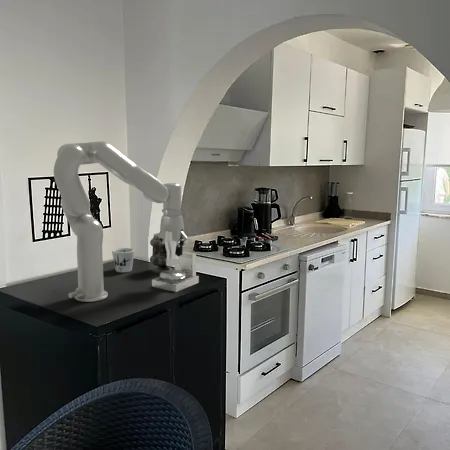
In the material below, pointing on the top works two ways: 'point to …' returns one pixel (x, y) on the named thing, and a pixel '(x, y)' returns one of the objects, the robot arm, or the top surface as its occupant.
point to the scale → (190, 279)
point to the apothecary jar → (158, 255)
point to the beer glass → (171, 250)
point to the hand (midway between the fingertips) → (172, 254)
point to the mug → (123, 259)
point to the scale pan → (172, 274)
